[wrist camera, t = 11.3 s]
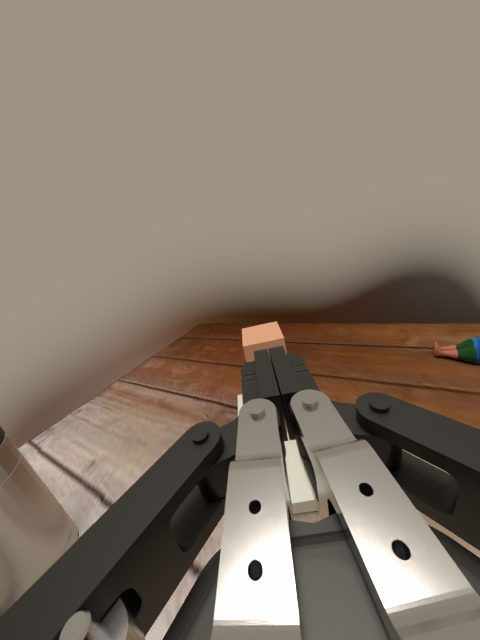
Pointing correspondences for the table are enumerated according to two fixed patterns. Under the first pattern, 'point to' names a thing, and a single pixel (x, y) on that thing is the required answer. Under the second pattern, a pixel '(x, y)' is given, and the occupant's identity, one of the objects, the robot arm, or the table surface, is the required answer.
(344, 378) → the table surface
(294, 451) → the white stand base
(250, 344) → the block
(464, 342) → the toy character
